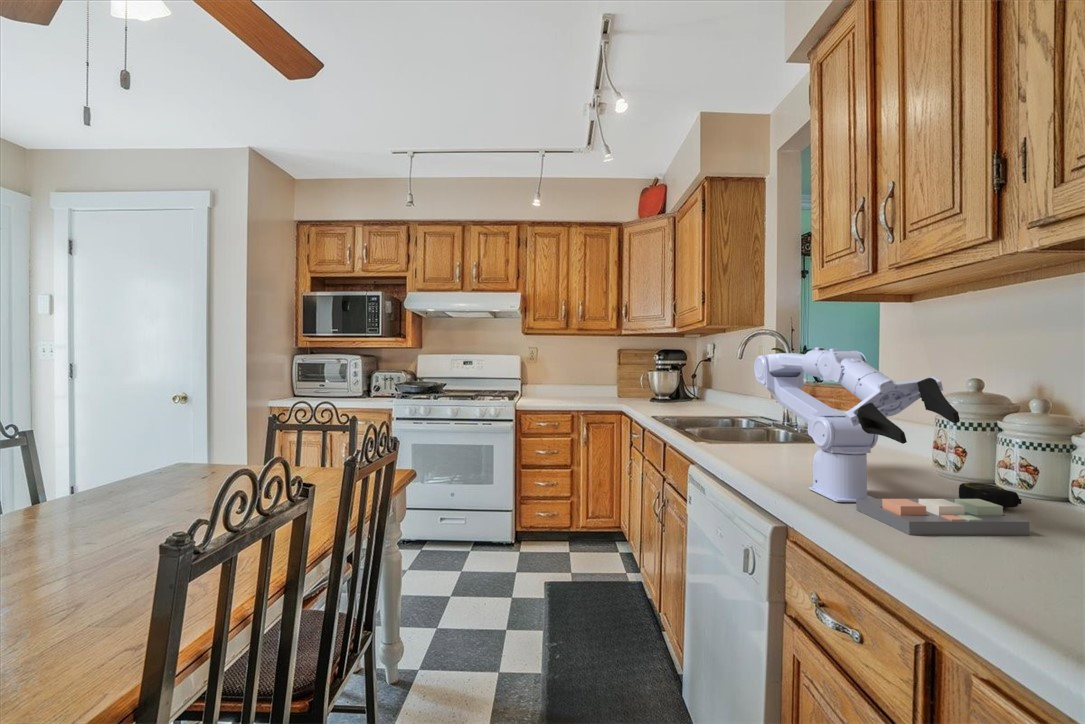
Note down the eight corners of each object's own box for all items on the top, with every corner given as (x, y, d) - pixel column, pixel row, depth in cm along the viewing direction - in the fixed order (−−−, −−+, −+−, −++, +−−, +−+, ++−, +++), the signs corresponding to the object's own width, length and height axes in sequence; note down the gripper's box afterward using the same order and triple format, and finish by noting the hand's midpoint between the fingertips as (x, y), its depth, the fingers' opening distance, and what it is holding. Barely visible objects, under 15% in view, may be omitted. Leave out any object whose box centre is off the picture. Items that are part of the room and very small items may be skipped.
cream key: (918, 512, 77) (918, 498, 77) (942, 512, 77) (942, 498, 77) (939, 520, 73) (938, 506, 73) (964, 520, 73) (964, 506, 73)
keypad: (856, 509, 82) (856, 497, 82) (958, 509, 82) (958, 497, 82) (909, 534, 70) (909, 520, 70) (1029, 534, 70) (1029, 520, 70)
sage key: (955, 512, 77) (954, 498, 77) (979, 512, 77) (979, 498, 77) (977, 520, 73) (977, 506, 73) (1002, 520, 73) (1002, 506, 73)
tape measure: (984, 513, 81) (983, 491, 81) (948, 501, 88) (948, 481, 88) (1022, 512, 81) (1022, 491, 81) (983, 501, 88) (983, 481, 88)
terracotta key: (882, 512, 77) (882, 498, 77) (906, 512, 77) (906, 498, 77) (900, 520, 73) (900, 506, 73) (926, 520, 73) (926, 506, 73)
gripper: (825, 386, 82) (874, 427, 70) (909, 350, 80) (976, 386, 67) (835, 416, 85) (884, 461, 73) (917, 383, 82) (983, 423, 70)
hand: (929, 428), depth 70 cm, fingers open, 7 cm apart
